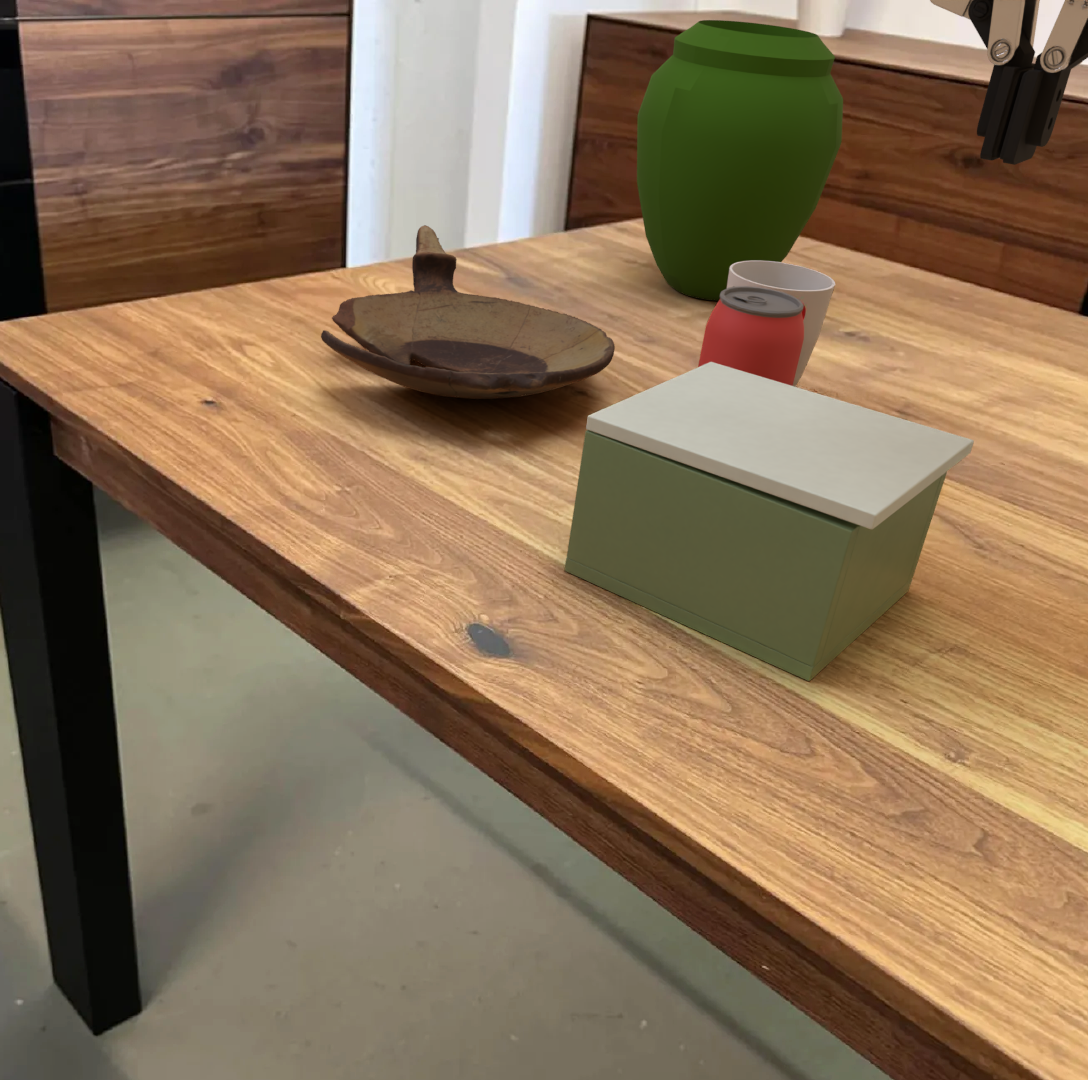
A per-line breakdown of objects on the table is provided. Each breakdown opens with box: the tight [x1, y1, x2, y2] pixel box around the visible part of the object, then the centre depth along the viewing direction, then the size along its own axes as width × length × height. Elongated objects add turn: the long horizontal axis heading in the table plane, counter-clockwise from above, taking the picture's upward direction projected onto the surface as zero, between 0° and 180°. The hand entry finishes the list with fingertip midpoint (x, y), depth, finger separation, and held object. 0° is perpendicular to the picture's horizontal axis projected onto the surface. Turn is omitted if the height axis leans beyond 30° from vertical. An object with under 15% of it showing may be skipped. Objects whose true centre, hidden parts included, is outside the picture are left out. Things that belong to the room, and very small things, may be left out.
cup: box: [727, 261, 836, 387], centre depth 97 cm, size 8×8×10 cm
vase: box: [636, 19, 844, 302], centre depth 118 cm, size 20×20×24 cm
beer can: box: [697, 286, 804, 386], centre depth 84 cm, size 7×7×12 cm
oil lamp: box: [320, 224, 616, 400], centre depth 96 cm, size 22×30×8 cm
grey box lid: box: [585, 362, 975, 529], centre depth 67 cm, size 17×14×1 cm
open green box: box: [564, 429, 948, 682], centre depth 70 cm, size 16×14×9 cm
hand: (1006, 157), depth 58 cm, fingers closed
